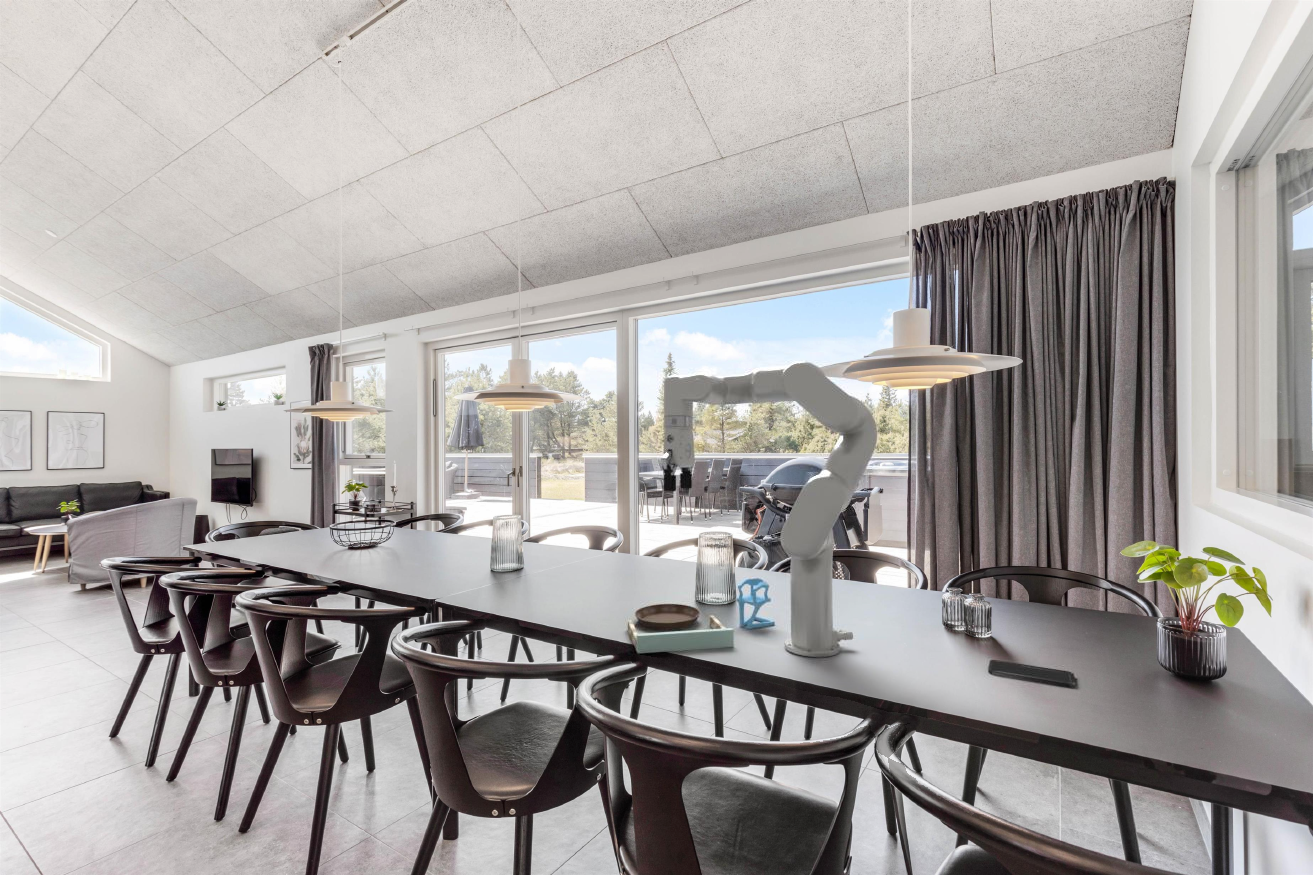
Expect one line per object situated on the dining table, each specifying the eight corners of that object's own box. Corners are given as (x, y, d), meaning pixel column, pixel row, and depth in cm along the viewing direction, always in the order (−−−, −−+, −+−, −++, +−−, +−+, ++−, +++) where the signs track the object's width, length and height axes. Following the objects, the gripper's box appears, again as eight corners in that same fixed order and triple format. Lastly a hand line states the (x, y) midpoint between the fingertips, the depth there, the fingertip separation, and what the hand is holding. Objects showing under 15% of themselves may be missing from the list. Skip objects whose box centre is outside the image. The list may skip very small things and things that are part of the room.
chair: (732, 625, 163) (731, 579, 163) (752, 618, 168) (751, 575, 168) (755, 631, 157) (754, 584, 157) (775, 624, 163) (774, 579, 163)
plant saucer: (664, 637, 153) (664, 625, 153) (621, 622, 167) (621, 611, 167) (713, 623, 165) (713, 612, 165) (670, 610, 178) (669, 600, 178)
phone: (1075, 684, 119) (987, 670, 127) (1075, 690, 119) (987, 675, 127) (1073, 671, 125) (990, 658, 133) (1073, 677, 125) (990, 663, 133)
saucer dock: (627, 630, 159) (627, 614, 159) (713, 624, 163) (713, 609, 163) (637, 653, 141) (637, 635, 141) (733, 646, 145) (733, 629, 145)
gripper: (677, 422, 150) (677, 492, 150) (704, 424, 165) (704, 487, 165) (650, 422, 153) (649, 491, 153) (679, 424, 168) (679, 486, 168)
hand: (678, 489), depth 159 cm, fingers open, 9 cm apart
